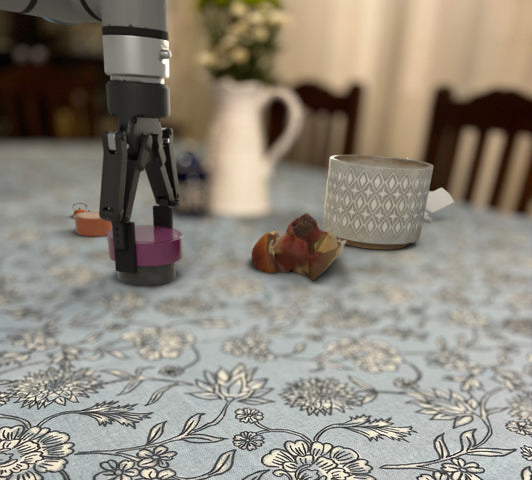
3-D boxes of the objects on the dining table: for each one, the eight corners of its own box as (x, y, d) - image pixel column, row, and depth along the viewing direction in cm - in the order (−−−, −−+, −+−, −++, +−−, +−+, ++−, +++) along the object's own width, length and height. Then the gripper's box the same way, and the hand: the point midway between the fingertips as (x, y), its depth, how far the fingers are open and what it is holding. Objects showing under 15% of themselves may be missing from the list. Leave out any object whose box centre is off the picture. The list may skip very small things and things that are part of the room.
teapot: (77, 214, 104) (76, 201, 103) (91, 216, 104) (90, 202, 103) (70, 217, 102) (68, 203, 101) (84, 219, 101) (82, 205, 100)
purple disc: (93, 259, 68) (91, 236, 67) (132, 242, 77) (130, 221, 76) (162, 270, 66) (161, 246, 65) (194, 251, 75) (194, 230, 73)
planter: (395, 228, 110) (407, 157, 104) (435, 253, 94) (452, 169, 88) (311, 227, 107) (318, 152, 100) (337, 252, 91) (348, 165, 84)
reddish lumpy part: (344, 254, 73) (294, 203, 71) (283, 312, 78) (235, 266, 76) (348, 230, 87) (306, 186, 85) (296, 280, 92) (255, 240, 90)
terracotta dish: (68, 233, 91) (66, 216, 90) (89, 226, 97) (88, 209, 95) (100, 238, 90) (99, 220, 88) (120, 230, 95) (119, 213, 94)
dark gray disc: (106, 280, 70) (104, 258, 69) (135, 265, 77) (134, 244, 76) (159, 289, 69) (159, 267, 67) (185, 272, 76) (184, 252, 74)
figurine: (402, 253, 121) (436, 225, 127) (427, 223, 110) (463, 194, 116) (357, 209, 123) (393, 184, 129) (378, 176, 113) (415, 150, 118)
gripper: (115, 77, 51) (129, 290, 61) (203, 85, 71) (203, 245, 81) (50, 73, 53) (73, 280, 63) (154, 82, 73) (159, 239, 83)
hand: (146, 261), depth 72 cm, fingers closed on purple disc, 10 cm apart
